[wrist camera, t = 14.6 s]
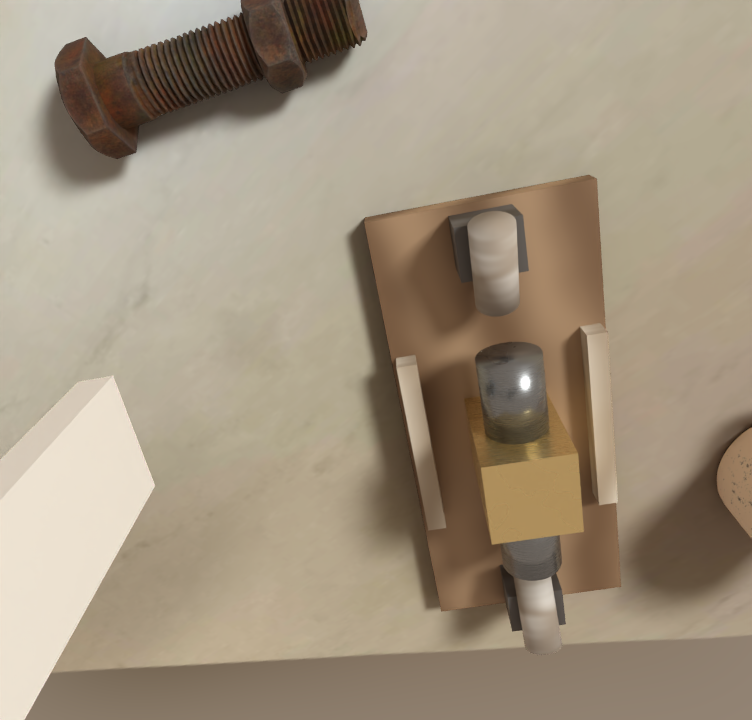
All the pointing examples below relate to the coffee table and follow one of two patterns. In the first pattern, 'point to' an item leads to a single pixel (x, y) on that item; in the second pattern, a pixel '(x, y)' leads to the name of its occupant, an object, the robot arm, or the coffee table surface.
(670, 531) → the coffee table surface
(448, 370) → the coupling cradle
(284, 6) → the bolt
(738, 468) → the teacup with lid
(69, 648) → the coffee table surface
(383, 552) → the coffee table surface
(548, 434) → the universal joint
